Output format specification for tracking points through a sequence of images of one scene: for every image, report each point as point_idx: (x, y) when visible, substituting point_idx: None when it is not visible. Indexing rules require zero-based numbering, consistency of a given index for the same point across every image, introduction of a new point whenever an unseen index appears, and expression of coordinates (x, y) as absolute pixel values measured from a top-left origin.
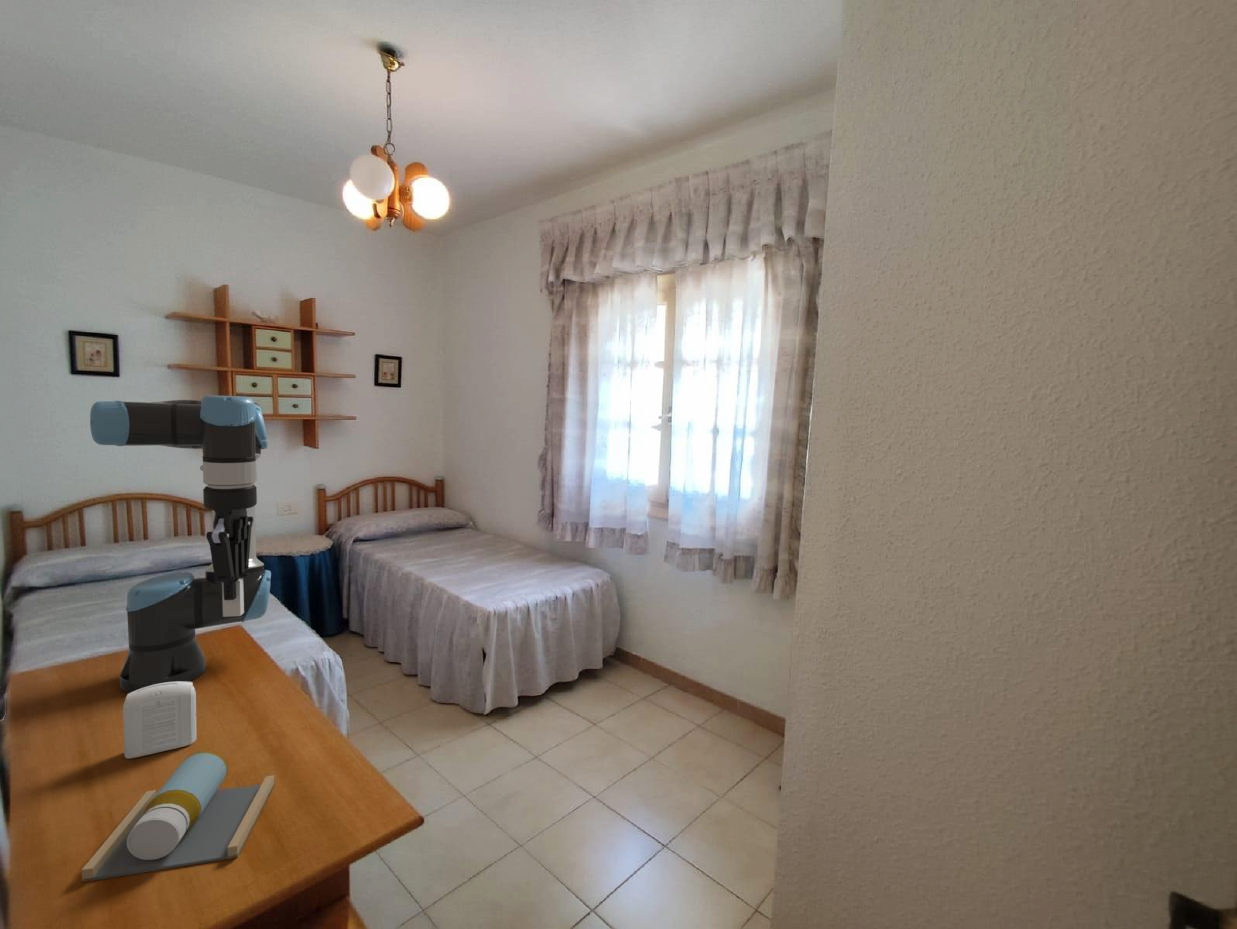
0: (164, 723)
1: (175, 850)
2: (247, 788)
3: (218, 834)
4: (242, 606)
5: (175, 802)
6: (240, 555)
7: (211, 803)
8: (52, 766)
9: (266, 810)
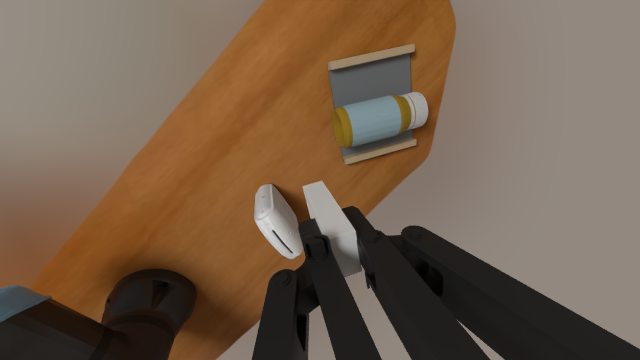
0: (286, 210)
1: None
2: (334, 85)
3: (387, 75)
4: (314, 192)
5: (408, 108)
6: (363, 326)
7: None
8: (303, 256)
9: (359, 50)
